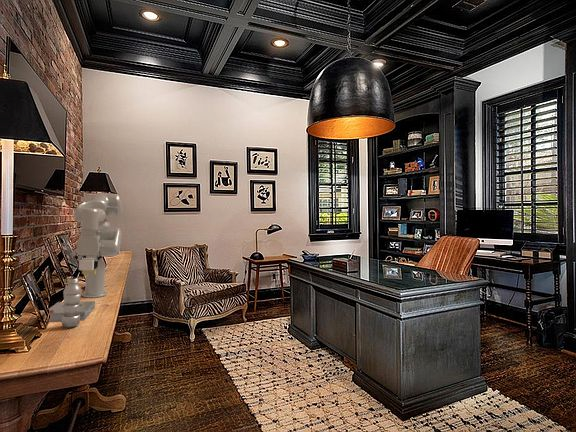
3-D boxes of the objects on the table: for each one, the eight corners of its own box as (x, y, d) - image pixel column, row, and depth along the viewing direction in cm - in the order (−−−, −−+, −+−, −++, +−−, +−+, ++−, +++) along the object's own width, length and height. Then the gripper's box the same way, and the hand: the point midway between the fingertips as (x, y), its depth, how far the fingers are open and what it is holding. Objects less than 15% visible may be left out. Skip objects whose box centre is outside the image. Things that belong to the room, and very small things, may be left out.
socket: (57, 309, 171) (57, 301, 171) (94, 308, 176) (95, 300, 176) (42, 321, 152) (42, 312, 152) (84, 320, 157) (84, 311, 157)
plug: (84, 272, 185) (84, 257, 185) (97, 272, 187) (97, 257, 187) (78, 276, 174) (79, 260, 174) (92, 276, 176) (92, 260, 176)
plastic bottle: (57, 327, 146) (60, 278, 146) (74, 323, 152) (76, 276, 152) (67, 330, 143) (69, 280, 143) (83, 326, 149) (85, 278, 149)
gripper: (109, 233, 185) (108, 267, 186) (72, 232, 180) (70, 267, 180) (106, 234, 178) (105, 270, 178) (67, 233, 173) (66, 270, 173)
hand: (87, 268), depth 179 cm, fingers closed on plug, 6 cm apart
